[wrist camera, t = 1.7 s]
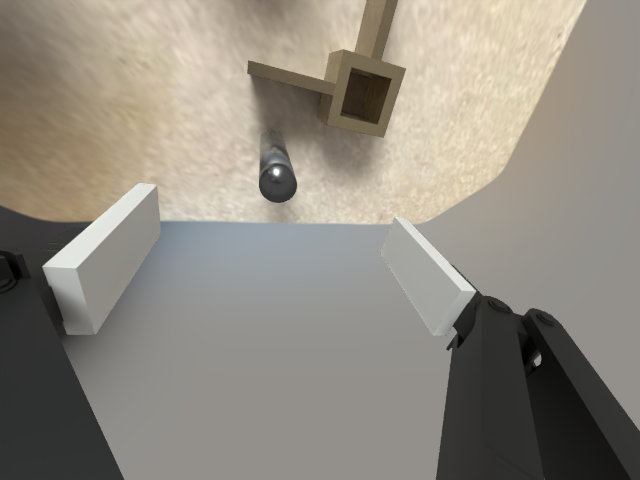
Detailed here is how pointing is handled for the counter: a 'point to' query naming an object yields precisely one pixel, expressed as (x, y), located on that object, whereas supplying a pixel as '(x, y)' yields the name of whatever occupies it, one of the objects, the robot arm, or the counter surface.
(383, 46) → the hinge
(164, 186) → the counter surface
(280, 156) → the pin
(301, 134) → the counter surface
